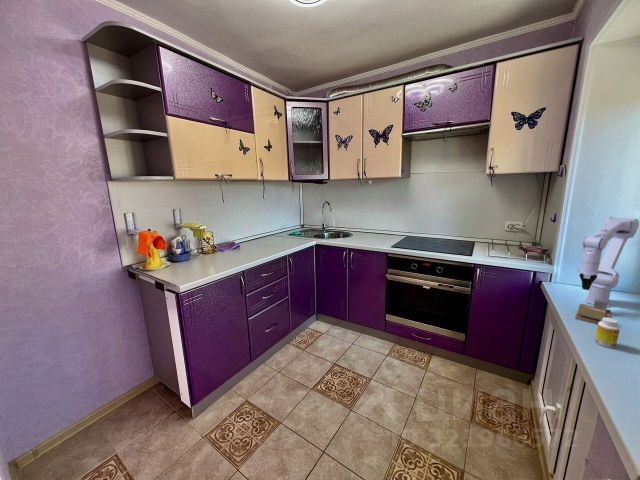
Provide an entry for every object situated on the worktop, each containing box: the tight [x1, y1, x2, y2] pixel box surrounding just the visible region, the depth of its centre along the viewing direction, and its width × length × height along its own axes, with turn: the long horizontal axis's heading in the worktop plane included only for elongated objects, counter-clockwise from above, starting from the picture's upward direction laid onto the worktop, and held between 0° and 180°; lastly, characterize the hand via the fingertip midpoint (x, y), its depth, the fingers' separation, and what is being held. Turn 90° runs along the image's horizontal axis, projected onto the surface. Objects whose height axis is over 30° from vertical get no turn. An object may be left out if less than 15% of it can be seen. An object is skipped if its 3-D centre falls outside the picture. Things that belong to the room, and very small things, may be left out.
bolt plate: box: [574, 303, 612, 326], centre depth 121 cm, size 19×10×1 cm, turn 130°
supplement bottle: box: [594, 317, 621, 349], centre depth 99 cm, size 6×6×10 cm
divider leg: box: [577, 303, 605, 320], centre depth 116 cm, size 3×8×5 cm, turn 40°
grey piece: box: [593, 299, 608, 322], centre depth 119 cm, size 16×4×5 cm, turn 130°
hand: (585, 289), depth 124 cm, fingers closed
